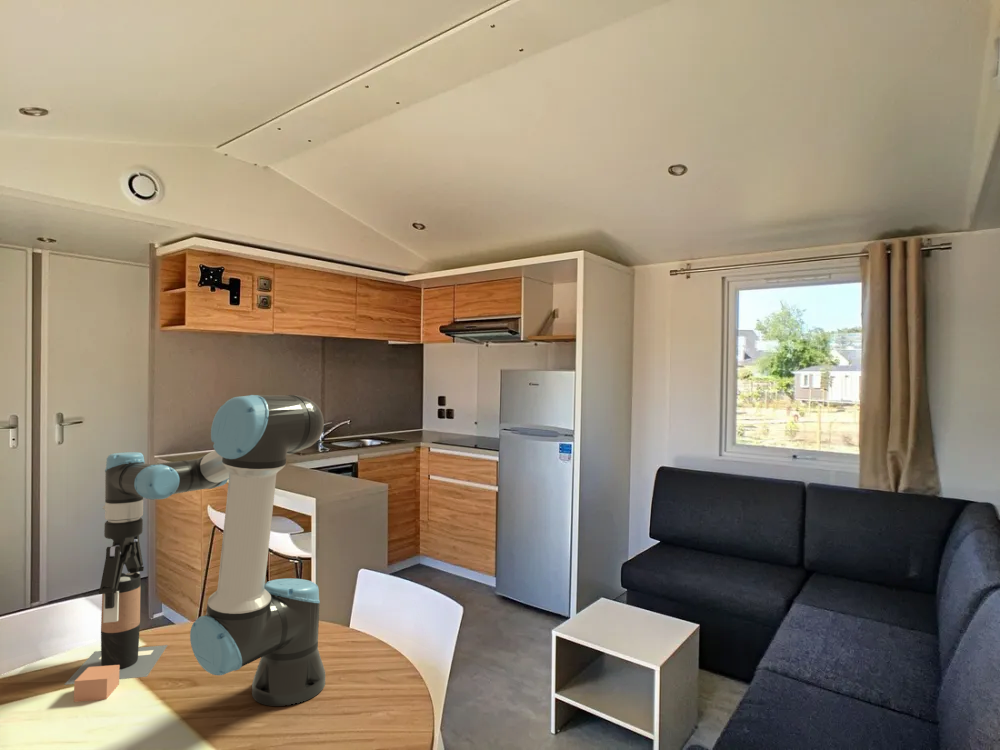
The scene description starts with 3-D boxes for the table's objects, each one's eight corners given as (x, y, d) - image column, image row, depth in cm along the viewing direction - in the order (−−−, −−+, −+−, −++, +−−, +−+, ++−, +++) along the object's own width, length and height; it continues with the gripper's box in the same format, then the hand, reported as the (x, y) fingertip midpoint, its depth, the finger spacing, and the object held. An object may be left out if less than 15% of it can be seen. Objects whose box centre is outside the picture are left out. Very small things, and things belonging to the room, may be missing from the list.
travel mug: (107, 674, 130) (109, 585, 131) (94, 664, 135) (96, 578, 135) (144, 662, 136) (146, 576, 137) (131, 652, 141) (133, 569, 141)
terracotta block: (106, 702, 121) (107, 678, 121) (73, 705, 119) (74, 681, 119) (118, 687, 126) (119, 664, 126) (87, 690, 125) (88, 667, 125)
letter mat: (146, 679, 130) (147, 676, 130) (63, 687, 126) (64, 684, 126) (167, 647, 145) (167, 644, 145) (94, 653, 141) (94, 651, 141)
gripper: (125, 508, 147) (123, 593, 147) (82, 532, 123) (80, 633, 123) (158, 507, 149) (156, 590, 149) (122, 530, 125) (120, 630, 125)
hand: (122, 610), depth 136 cm, fingers open, 13 cm apart
